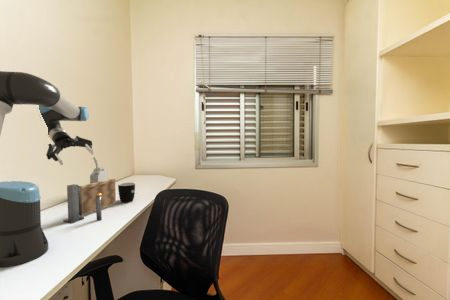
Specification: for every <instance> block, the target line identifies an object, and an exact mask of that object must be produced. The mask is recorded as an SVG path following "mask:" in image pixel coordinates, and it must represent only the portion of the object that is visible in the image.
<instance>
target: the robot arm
mask: <svg viewBox="0 0 450 300" xmlns="http://www.w3.org/2000/svg"><path fill="white" fill-rule="evenodd" d="M14 105H34V106H37V105H39V110H40V113H41V115H42V117H43V119H44V121H45V123H46V125H47V127H48V135H49V136H48V135H47V136H48V137H49V139H50V140H51V142H53V144H52V143H49V144H47V145H48V149H47V152H46V154H45V155H46V158H47V160H53V161H54V162H58V163H59V164H60V166H63V165H64V164H63V163H64V162H63V159H62V158H61V157H60V156H59V154H60V152H62V151H64V149H66V148H71V147H79V148H81V147H82V148H85V149H86V150H87V151H88V152H89V153H90V155H94V151H93V147H92V146H93V141H92V140H89V139H88V138H87V139H86V138H82V137H80V136H78V135H76V136H75V138H72V137H71V136H70V134H68V132H66V130H64V128H63V127H62V126H61V121H62V122H63V121H64V122H68V121H69V122H75V121H76V122H87V121H88V120H89V110H88V108H87V107H85V106H78V105H76V104H75V103H74V102H72V101H71V100H70V99H68V98H67V97H66V96H65V95H63V94H62V93H61V91H60V90H59V89H58V87H56V86H55V85H53V83H51V82H49V81H48V80H45V79H43V78H41V77H39V76H37V75H34V74H32V73H27V72H24V71H23V72H22V71H3V70H2V71H1V70H0V136H1V134H2V129H3V124H4V120H5V117H6V115H8V114H10V113H11V112H12V111H13V107H14ZM48 251H49V241H48V238H47V236H46V235H45V232H44V230H43V229H42V219H41V194H40V188H39V186H38V185H37V184H36V183H34V182H30V181H21V180H20V181H19V180H17V181H15V180H14V181H13V180H10V181H0V268H6V267H7V268H8V267H13V266H17V265H21V264H25V263H27V262H31V261H34V260H35V259H38V258H40V257H41V256H43V255H44V254H46V253H47V252H48Z"/></svg>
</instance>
